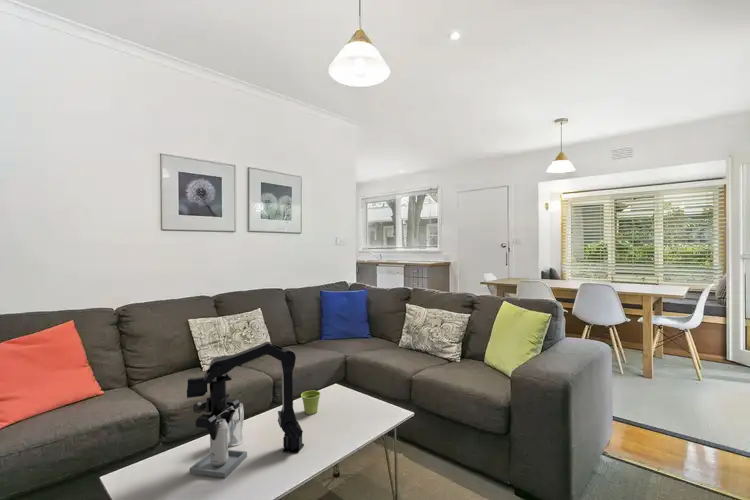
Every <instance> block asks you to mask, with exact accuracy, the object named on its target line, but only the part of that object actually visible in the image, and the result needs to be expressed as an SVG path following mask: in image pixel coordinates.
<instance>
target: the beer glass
mask: <svg viewBox="0 0 750 500" xmlns="http://www.w3.org/2000/svg"><path fill="white" fill-rule="evenodd" d="M232 410H236V411H235V412H234V414H233V416H232V418H231V421H230V423H229V425H228V447H229V446H230V447H236V446H239V445H241V444H242V443H243V442H244V438H243V426H244V418H245V417H244V416H245V414H244V413H245V412H244V404H243V403H241V402H240V407H238V408H237V409H234V408H233V406H232Z"/></svg>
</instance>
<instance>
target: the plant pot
mask: <svg viewBox="0 0 750 500" xmlns="http://www.w3.org/2000/svg"><path fill="white" fill-rule="evenodd" d="M321 395H322V394H321V392H320V391H318V390H307V391H303V392H302V393H301V394H300V397H301V399H302V403H303V408H304V413H305V414H306V415H314V414H317V413H318V411H319V401H320V397H321ZM316 412H317V413H316Z"/></svg>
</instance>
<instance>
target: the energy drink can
mask: <svg viewBox="0 0 750 500" xmlns="http://www.w3.org/2000/svg"><path fill="white" fill-rule="evenodd" d="M217 422H220V423H219V427H218V431H217V435H216V439H215V440H212V439H211V436H210V435H209V440H210V441H209V443H210V446H209V447H210V450H209V452H210V453H211V463H212V464H213V465H214V466H220V465H223V464H224V463H226V462H227V460H228V450H229V445H228V424H227V422H226V419H223V418H221V417H220V418H217Z"/></svg>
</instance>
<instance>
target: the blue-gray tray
mask: <svg viewBox="0 0 750 500" xmlns="http://www.w3.org/2000/svg"><path fill="white" fill-rule="evenodd" d="M246 458H248V451H245V450H235V449H228V460H227V462H226V463H224V464H223V465H220V466H214V465H213V464H212V463H211V453H210V451H209V452H207V453H206V454H205V455H204V456H203V457H201V459H199V460H198V461H197V462H196V463H194V464H193V465H192V466H191V467H190V468H189V469H188V471H189V475H193V476H200V477H201V476H202V477H209V478H216V479H223V480H225V479H226V478H227V477H228V476H230V474H231V473H233V471H234V470H236V469H237V467H238V466H239V465H240V464H242V462H244V461H245V459H246Z"/></svg>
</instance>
